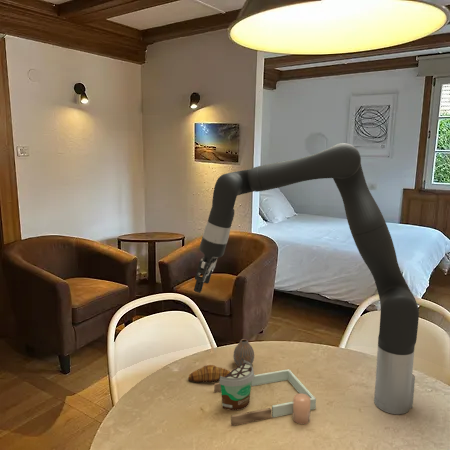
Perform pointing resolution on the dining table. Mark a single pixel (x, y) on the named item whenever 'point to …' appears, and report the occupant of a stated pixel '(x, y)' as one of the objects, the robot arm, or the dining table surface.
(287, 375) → the bay
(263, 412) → the brown flat strips
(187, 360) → the dining table surface
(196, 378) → the croissant
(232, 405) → the food container
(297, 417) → the tan rounded piece
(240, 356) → the vase
